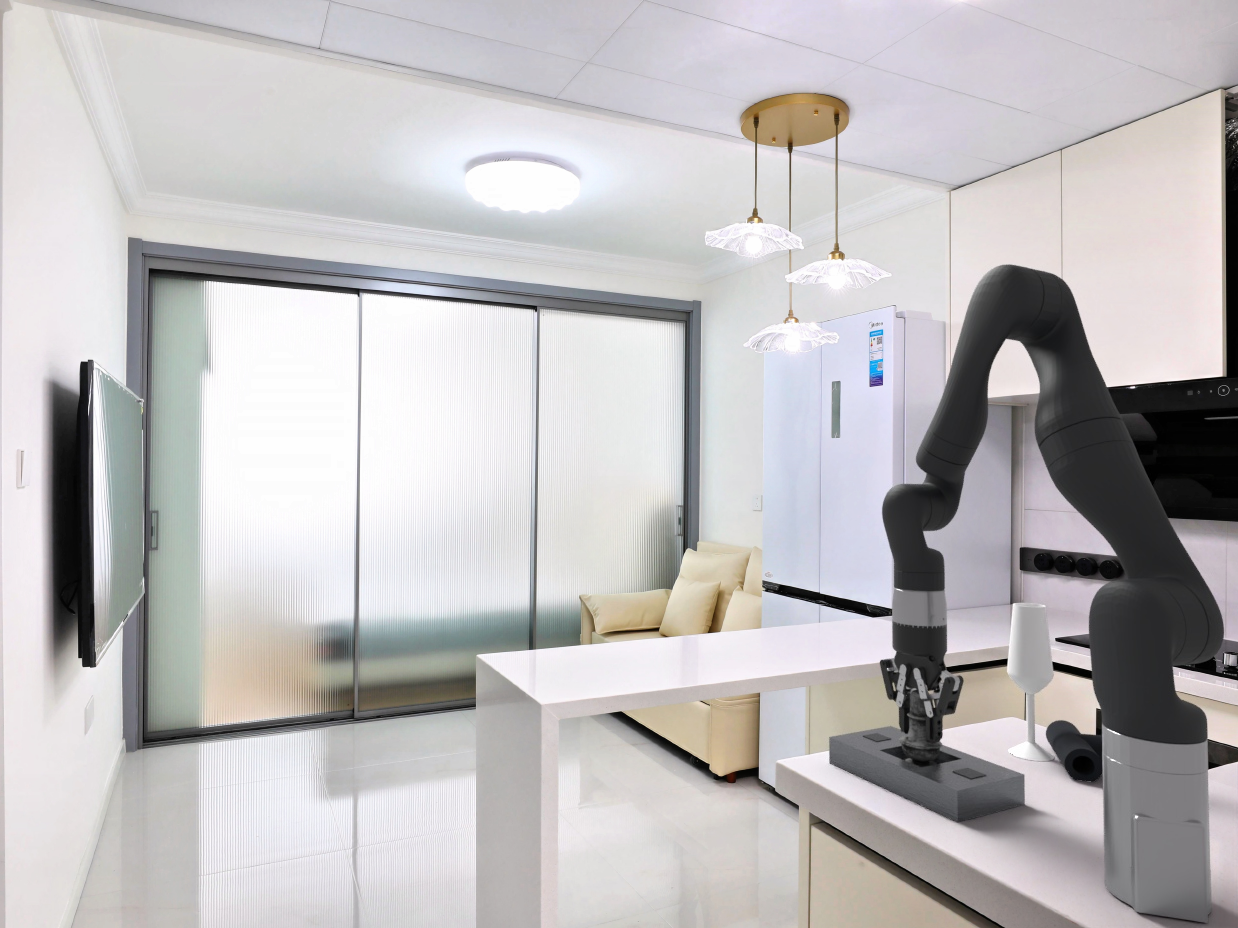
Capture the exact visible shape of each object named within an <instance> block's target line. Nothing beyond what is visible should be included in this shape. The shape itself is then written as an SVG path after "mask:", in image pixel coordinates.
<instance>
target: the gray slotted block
mask: <svg viewBox="0 0 1238 928" xmlns="http://www.w3.org/2000/svg"><path fill="white" fill-rule="evenodd" d="M907 735H908V734H905V733H902V732H901V728H898V727H895V726H891V725H888V726H884V727H877V728H872V729H866V730H861V731H855V732H850V733H849V732H848V733H844V734H843V733H842V734H837V735H832V736H829V738H828V740H829V741H828V743H829V745H828V748H829V749H828V754H829V755H828V756H829V758H828V759H829V764H831V765H833V766H836V767H837V768H840V769H842V770H844V771H846V772H847V773H850V774H852V775H854V776H857V777H859V778H861V779H863V780H864V781H865V780H866V781H868V782H870V783H872V784H874V785H876V786H879V787H880V788H883V789H886V790H887V791H889V792H891V793H893V794H895V795H898V796H900V797H902V798H904V799H906V800H909V801H911V802H913V803H915V804H917V805H920V806H922V807H924V808H926V809H928V810H930V811H933V812H934V813H937V814H939V815H941V816H943V817H946V818H947V819H950V820H952V821H953V822H956V823H961V822H963V821H967V820H972V819H975V818H979V817H982V816H986V815H990V814H993V813H998V812H1001V811H1005V810H1009V809H1012V808H1016V807H1021V806H1023V805H1025V804H1026V798H1025V796H1026V793H1025V792H1026V790H1025V787H1026V786H1025V784H1026V783H1025V774H1024V773H1022V772H1018V771H1015V770H1013V769H1010V768H1007V767H1005V766H1002V765H999V764H997V763H994V762H992V761H988V760H985V759H982V758H980V757H978V756H974V755H971V754H969V753H966V752H963V751H961V750H958V749H955V748H952V747H951V746H950V747H949V746H946V745H943V744H942V747H941V748H940V752H939V754H938V756H937V758H935V759H934V760H933V762H935V763H936V765H932V766H927V767H919V766H917V765H914V764H912V763H909V762H907V761H905V760H906V759H908V758H909V757H907V756H906V754H905V753H904V751H903V749H902V746H901V743H900V741H899V739H900V738H901V737H902V736H907Z"/></svg>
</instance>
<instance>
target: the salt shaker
mask: <svg viewBox="0 0 1238 928" xmlns="http://www.w3.org/2000/svg"><path fill="white" fill-rule="evenodd" d="M907 715H908V716H909V727H910V728H909V732H908V735H907V736H902V737H901V738H900V739H899V741H900V743H901V746H902V749H903V751H904V753H905V754H906V756H907V757H909V758H908V759H906V760H905V761H907V762H909V763H912V764H914V765H917V766H919V767H927V766H932V765H936V763H935V762H933V760H934V759H935V758H937V756H938V754H939V752H940V748H941V747H942V745H943V743H942V742H941V740H940V741H939V742H936V743H929V742H927V741H926V716H927V714H926V709H925V705H924V701H923V700H921V698H920V694H919V690H914V691H912V692H911V693H910V712H909V713H907Z"/></svg>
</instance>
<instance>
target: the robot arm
mask: <svg viewBox="0 0 1238 928" xmlns="http://www.w3.org/2000/svg"><path fill="white" fill-rule="evenodd" d="M1077 304H1078V303H1077V302H1076V298H1075V296H1074V294H1073V292H1072V289H1071V288H1070V286H1069V285H1068V283H1067V282H1066V281H1065V280H1064V279H1063V278H1061V277H1059V276H1058V275H1057V274H1055V273H1051V272H1048V271H1044V270H1039V269H1034V268H1029V267H1026V266H1023V265H1022V266H1021V265H1016V264H1001V265H997V266H995V267H993V268H991V269H990V270H989V271H987V272H986V273H985V274H983V276H982V277H981V279H980V280H979V281H978V283H977V285H976V287H975V288H974V291H973V293H972V295H971V298H970V300H969V303H968V305H967V309H966V311H965V316H964V319H963V322H962V327H961V330H960V334H959V337H958V340H957V344H956V347H955V351H954V354H953V358H952V362H951V365H950V368H949V372H948V375H947V379H946V380H947V381H946V384H945V387H944V389H943V393H942V396H941V398H940V400H939V403H938V406H937V408H936V410H935V412H934V415H933V417H932V420H931V421H930V424H929V425H928V428H927V430H926V431H925V434H924V436H923V438H922V441H921V443H920V445H919V447H918V449H917V451H916V455H915V463H916V465H917V467H918V468H919V469H920V470H921V471H923V473H925V478H924V480H923V482H922V483H899V484H896V485H894V486H892V487H891V488H890V489H889V490H888V491H887V492H886V494H885V496H884V498H883V502H882V505H881V506H882V507H881V516H882V517H881V518H882V523H883V526H884V530H885V533H886V538H887V541H888V546H889V549H890V552H891V556H892V559H893V593H892V602H891V603H892V604H891V612H892V613H891V618H892V619H891V623H892V624H891V627H892V629H891V630H892V637H891V638H892V643H891V645H892V649H893V650H894V651H895V655H894V657H893V658H892V657H891V658H885V659H884V658H883V659H880V660H879V667H880V671H881V674H882V679H883V683H884V684H883V685H884V688H885V692H886V696H887V699H888V700H890V701H894V702H895V704H896V705H897V707H898V725H899V729H900V730H901V732H902V733H905V734H908V732H909V728H910V727H909V716H908V715H907V713H909V712H910V693H911V692H912V691H914V690H919V694H920V698H921V700H923V701H924V705H925V709H926V714H927V716H926V741H927V742H929V743H936V742H939V741H940V742H941V740H942V739H943V736H944V735H943V734H944V733H943V727H944V726H943V725H944V724H943V723H944V722H943V719H944V716H950V715H954V714H955V713H956V710H957V706H958V703H959V699H960V696H961V692H962V689H963V685H964V681H965V680H964V678H963V676H962V675H961V674H959V675H954V674H953V673H951V672H949V671H948V670H947V666H946V663H945V659H944V658H945V655H946V654H947V652H948V607H947V599H946V598H947V597H946V590H945V589H946V582H945V581H946V580H945V579H946V577H945V576H946V575H945V573H946V571H945V559H944V555H943V553H942V552H941V551H940V550H937V549H935V548H932V547H929V546H928V544H927V541H926V537H925V534H924V532H935V531H939V530H940V531H941V530H942V529H944V528H945V527H947V526H948V525H949V524H950V523H951V521H953V519H954V518H955V516H956V514H957V512H958V509H959V506H960V502H961V499H962V498H961V497H962V492H963V487H964V484H965V483H964V482H965V477H966V476H965V475H966V471H967V469H968V467H969V465H970V464H971V462H972V460H973V458H974V455H975V453H976V452H977V450H978V448H979V445H980V443H981V442H982V439H983V437H984V435H985V433H986V432H985V431H986V429H987V424H988V418H989V379H990V375H991V374H990V373H991V369H992V367H993V363H994V361H995V359H996V357H997V356H998V355H997V354H998V353H999V352H1000V349H1001V348H1002V346H1003V344H1004V343H1005V341H1006V340H1009V341H1016V342H1019V343H1021V345H1022V346H1023V347H1024V349H1025V350H1026V353H1027V354H1028V356H1029V358H1030V360H1031V362H1032V364H1033V367H1034V370H1035V372H1036V374H1037V377H1038V381H1039V383H1038V384H1039V392H1038V393H1039V394H1038V399H1037V406H1036V410H1035V416H1034V436H1035V440H1036V444H1037V447H1038V449H1039V452H1040V454H1041V457H1042V459H1043V461H1044V465H1045V467H1046V470H1047V471H1048V474H1049V477H1050V478H1051V480H1052V483H1053V484H1054V486H1055V488H1056V489H1057V490H1058V491H1059V493H1060V494H1061V495H1062V497H1063V498H1064V499H1065V500H1066V501H1067V502H1068V503H1069V504H1070V505H1071V506H1072V507H1073V508H1074V509H1075V510H1076V511H1077V512H1078V513H1079V514H1080V516H1082V517H1083V518H1084V519H1085V520H1086V521H1087V522H1089V524H1090V525H1091V526H1092V527H1093V528H1094V529H1095V530H1096V531H1097V532H1098V533H1099V534H1100V535H1101V536H1102V537H1103V538H1104V540H1106V542H1107V543H1108V544H1109V546H1110V547H1111V548H1112V550H1113V551H1114V553H1115V556H1116V557H1117V559H1118V560H1119V562H1120V564H1121V567H1122V569H1123V571H1124V573H1125V576H1126V579H1125V578H1123V579H1117V580H1113V581H1109V582H1107V583H1106V584H1104V585H1102V586H1101V587H1100V588H1099V589H1098V590H1097V591H1096V593H1095V595H1094V596H1093V599H1092V600H1091V605H1090V607H1089V612H1088V614H1089V615H1088V637H1089V639H1088V640H1089V650H1090V651H1089V654H1090V663H1091V678H1092V679H1091V681H1092V688H1093V692H1094V695H1095V698H1096V701H1097V702H1098V705H1099V708H1100V712H1101V735H1102V764H1103V773H1102V798H1103V799H1102V804H1103V805H1102V807H1103V808H1102V809H1103V811H1102V812H1103V813H1102V814H1103V847H1104V849H1103V850H1104V851H1103V853H1104V856H1103V857H1104V859H1103V860H1104V861H1103V862H1104V886H1105V887H1106V890H1108V892H1110V894H1111V895H1112V896H1114V897H1116V898H1117V899H1118V900H1120V901H1122V902H1123V903H1125V904H1128V905H1129V906H1131V908H1132V909H1133V910H1134V912H1137V913H1141V914H1149V915H1154V916H1160V917H1168V918H1172V919H1173V918H1174V919H1180V920H1185V921H1186V920H1187V921H1194V922H1199V923H1209V915H1210V913H1211V912H1212V874H1211V872H1212V871H1211V844H1210V843H1211V841H1210V840H1211V839H1210V836H1211V835H1210V806H1209V805H1210V802H1209V801H1210V800H1209V799H1210V795H1209V753H1208V752H1209V749H1208V748H1209V745H1208V738H1209V737H1208V735H1209V734H1208V733H1209V731H1208V718H1207V715H1206V713H1205V711H1204V710H1203V709H1202V708H1201V707H1200V706H1198V705H1196V704H1195V703H1191V702H1190V701H1188V700H1184V699H1182V698H1180V697H1179V695H1178V694H1177V691H1176V685H1175V676H1174V666H1185V665H1195V664H1196V665H1197V664H1201V663H1204V662H1207V661H1209V660H1211V659H1212V658H1214V657H1215V656H1216V655H1217V654H1218V653H1219V652H1220V650H1221V648H1222V645H1223V642H1224V638H1225V637H1224V636H1225V626H1224V625H1225V624H1224V619H1223V615H1222V612H1221V609H1220V607H1219V604H1218V602H1217V600H1216V599H1215V596H1214V595H1213V593H1212V590H1211V589H1210V587H1209V586H1208V585H1209V584H1207V582H1206V581H1205V579H1204V577H1203V576H1202V574H1201V572H1200V571H1199V569H1198V567H1197V565H1196V564H1195V562H1194V561H1193V559H1192V558H1191V556H1190V554H1189V553H1188V551H1187V549H1186V548H1185V546H1184V544H1183V543H1182V541H1181V539H1180V538H1179V535H1178V534H1177V532H1176V530H1175V529H1174V527H1173V524H1172V523H1171V521H1170V519H1169V517H1168V515H1167V513H1166V511H1165V509H1164V507H1163V505H1162V502H1161V500H1160V499H1159V496H1158V495H1157V492H1156V490H1155V488H1154V487H1153V485H1152V482H1151V481H1150V478H1149V477H1148V474H1147V472H1146V470H1145V467H1144V465H1143V463H1142V461H1141V458H1140V456H1139V452H1138V451H1137V448H1136V446H1135V443H1134V441H1133V439H1132V437H1131V435H1130V432H1129V430H1128V428H1127V426H1126V424H1125V422H1124V420H1123V417H1122V416H1121V414H1120V412H1119V411H1118V409H1117V407H1116V405H1115V402H1114V400H1113V398H1112V395H1111V393H1110V391H1109V388H1108V386H1107V385H1106V382H1105V379H1104V377H1103V375H1102V372H1101V370H1100V369H1099V366H1098V364H1097V362H1096V360H1095V358H1094V355H1093V353H1092V350H1091V347H1090V345H1089V341H1088V337H1087V335H1086V331H1085V327H1084V324H1083V321H1082V318H1081V314H1080V310H1079V308H1078V305H1077ZM941 681H942V682H941ZM893 684H894V685H893ZM931 691H932V693H929V692H931Z"/></svg>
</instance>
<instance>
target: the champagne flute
mask: <svg viewBox="0 0 1238 928" xmlns="http://www.w3.org/2000/svg"><path fill="white" fill-rule="evenodd" d="M1008 643H1009V646H1008V655H1007V667H1006V672H1007V674H1008V677H1009V678H1010V680H1011V681H1012V682H1013V683H1014V684H1015V685H1016V686H1017V687H1018V688H1019V689H1020V690H1021V691H1023V692H1024V693H1025V694H1026V695H1025V699H1026V702H1025V703H1026V741H1025V742H1022V743H1019V744H1018V745H1015V746H1013V747H1010V748H1009V749H1007V752H1008V753H1009V754H1010V753H1011V754H1010V755H1012V754H1013V755H1012V756H1014V757H1016V758H1018V759H1023V760H1027V761H1036V762H1049V761H1053V760H1054V759H1055V758H1056V757H1055V755H1054V754H1052V753H1051V752H1050V751H1049V750H1046V749H1045V748H1044V747H1042V746H1041V745H1040V744H1039V743H1036V715H1035V702H1036V701H1035V694H1038V693H1040V692H1041V691H1042V690H1044V689H1045V688H1047V687H1048V686H1049V684H1050V683H1051V682H1052V681H1053V678H1054V675H1055V674H1054V673H1055V672H1054V665H1053V657H1052V651H1051V650H1052V649H1051V640H1050V632H1049V623H1048V615H1047V606H1046V605H1045V604H1041V603H1031V602H1016V603H1015V602H1014V603H1012V614H1011V623H1010V634H1009V642H1008Z"/></svg>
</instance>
